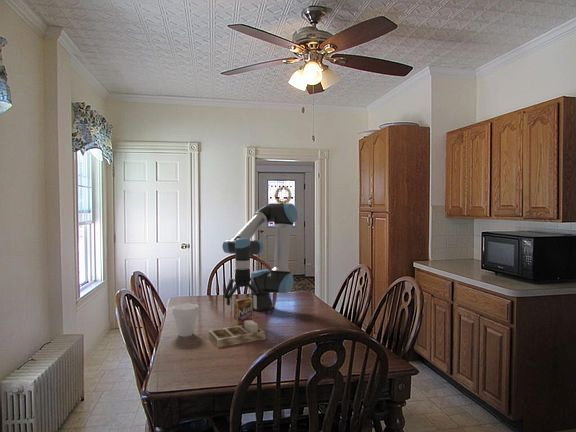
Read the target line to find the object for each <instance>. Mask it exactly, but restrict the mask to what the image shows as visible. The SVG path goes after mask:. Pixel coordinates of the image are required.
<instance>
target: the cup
mask: <svg viewBox="0 0 576 432" xmlns="http://www.w3.org/2000/svg"><path fill="white" fill-rule="evenodd" d="M198 313H199V305H198V304H196V303H180V304H179V303H178V304H176V305H174V306H173V307H172V315H173V319H174V322H175V325H176V330H177V334H178V336H179V337H184V338H186V337H190V336H192V334H194V332H195V327H196V322H197V317H198Z"/></svg>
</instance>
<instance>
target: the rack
mask: <svg viewBox="0 0 576 432" xmlns="http://www.w3.org/2000/svg"><path fill="white" fill-rule="evenodd" d="M207 338H208V339H210V341H212V343H213V344H215V345H214V346H216V347H217V348H222V347H228V346H233V345H240V344H244V343H245V344H246V343H249V342H250V343H251V342H256V341H261V340H266V339H267V338H266V331H265V330H263V329H262V328H260V327H259V326H258V332H256V333H249V332H247V331H246V330H245V329H244V325H241V326H235V327H234V326H229V327H223V328H216V329H211V330H210V329H209V330H208V336H207Z"/></svg>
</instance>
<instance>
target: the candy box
mask: <svg viewBox="0 0 576 432" xmlns="http://www.w3.org/2000/svg"><path fill="white" fill-rule="evenodd" d="M250 297H251V296H250ZM250 297H243V298H234V300H233V327H235V326H241V325H244V321H247V320H252V321H253V310H252V298H250Z"/></svg>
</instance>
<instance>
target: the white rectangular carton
mask: <svg viewBox="0 0 576 432" xmlns="http://www.w3.org/2000/svg"><path fill="white" fill-rule="evenodd" d="M258 327H259V324H258V323H257V322H255V321H254V320H253V319H252V320H247V321H244V329H245V330H246V331H247V332H249V333H256V332H258Z"/></svg>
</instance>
